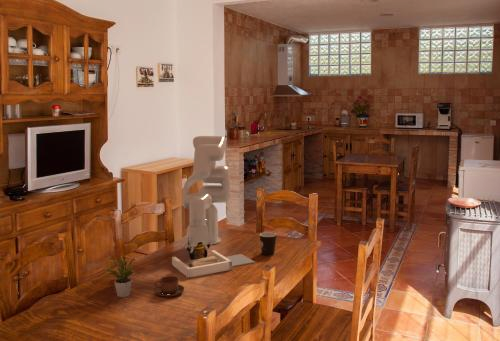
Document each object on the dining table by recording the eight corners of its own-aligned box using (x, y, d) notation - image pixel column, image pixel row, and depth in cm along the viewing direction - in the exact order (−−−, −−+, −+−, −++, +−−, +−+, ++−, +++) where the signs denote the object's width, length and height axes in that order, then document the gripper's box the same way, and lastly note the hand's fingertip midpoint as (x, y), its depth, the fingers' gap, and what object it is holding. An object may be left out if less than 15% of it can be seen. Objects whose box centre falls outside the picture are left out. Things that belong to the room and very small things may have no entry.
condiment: (208, 265, 260) (208, 240, 258) (194, 269, 254) (193, 244, 252) (199, 261, 265) (198, 237, 263) (185, 265, 259) (184, 241, 257)
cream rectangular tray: (172, 265, 260) (172, 257, 259) (214, 257, 270) (213, 250, 270) (188, 277, 242) (188, 269, 242) (232, 269, 253) (232, 261, 252)
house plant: (128, 284, 235) (127, 248, 232) (149, 292, 226) (148, 254, 223) (100, 294, 224) (98, 256, 221) (121, 302, 215) (119, 263, 212)
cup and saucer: (156, 300, 218) (156, 285, 217) (153, 289, 229) (153, 275, 228) (186, 297, 221) (185, 282, 220) (181, 286, 232) (181, 273, 231)
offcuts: (189, 271, 251) (189, 260, 250) (216, 266, 258) (215, 255, 258) (194, 274, 247) (193, 263, 246) (220, 268, 255) (220, 258, 254)
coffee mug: (276, 256, 273) (276, 236, 271) (259, 256, 273) (259, 236, 271) (276, 249, 284) (276, 230, 283) (259, 249, 284) (259, 230, 283)
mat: (220, 258, 269) (220, 257, 269) (241, 255, 274) (241, 253, 274) (232, 266, 257) (232, 265, 256) (254, 262, 262) (254, 261, 262)
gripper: (210, 218, 264) (211, 254, 267) (177, 223, 256) (178, 259, 258) (217, 222, 257) (218, 258, 260) (183, 226, 249) (184, 264, 252)
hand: (198, 258), depth 259 cm, fingers closed on condiment, 6 cm apart
